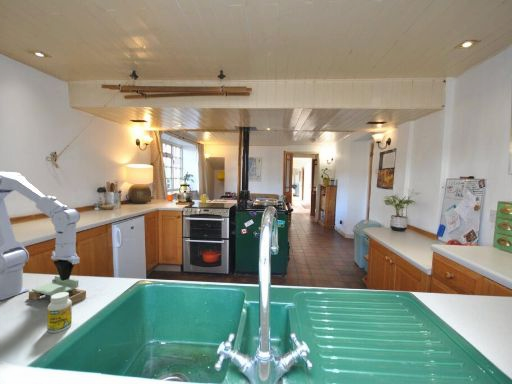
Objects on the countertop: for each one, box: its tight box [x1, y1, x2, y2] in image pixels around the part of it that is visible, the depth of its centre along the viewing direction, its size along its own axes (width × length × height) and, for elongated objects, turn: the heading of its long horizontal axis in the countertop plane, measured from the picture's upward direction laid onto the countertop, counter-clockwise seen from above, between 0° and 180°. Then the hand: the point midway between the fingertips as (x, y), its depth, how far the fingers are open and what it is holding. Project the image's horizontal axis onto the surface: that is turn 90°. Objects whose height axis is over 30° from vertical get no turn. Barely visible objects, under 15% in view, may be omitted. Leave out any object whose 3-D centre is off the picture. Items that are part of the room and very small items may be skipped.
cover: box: [31, 274, 79, 296], centre depth 84 cm, size 12×9×3 cm
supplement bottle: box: [46, 292, 73, 334], centre depth 67 cm, size 5×5×10 cm
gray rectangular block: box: [44, 291, 72, 300], centre depth 83 cm, size 8×2×2 cm, turn 90°
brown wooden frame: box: [28, 288, 87, 305], centre depth 83 cm, size 17×8×3 cm, turn 75°
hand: (65, 279), depth 85 cm, fingers closed
